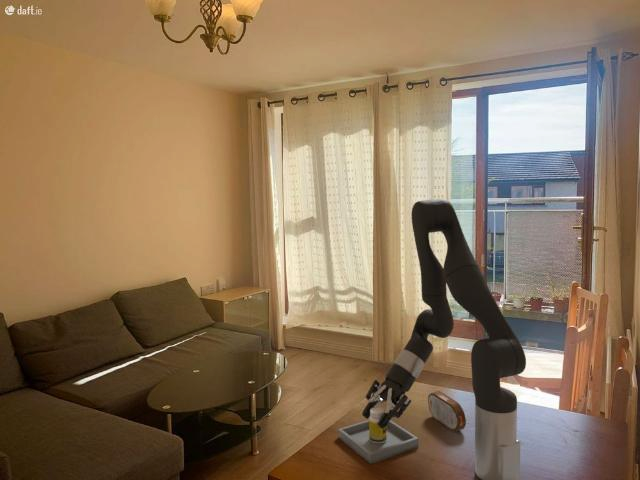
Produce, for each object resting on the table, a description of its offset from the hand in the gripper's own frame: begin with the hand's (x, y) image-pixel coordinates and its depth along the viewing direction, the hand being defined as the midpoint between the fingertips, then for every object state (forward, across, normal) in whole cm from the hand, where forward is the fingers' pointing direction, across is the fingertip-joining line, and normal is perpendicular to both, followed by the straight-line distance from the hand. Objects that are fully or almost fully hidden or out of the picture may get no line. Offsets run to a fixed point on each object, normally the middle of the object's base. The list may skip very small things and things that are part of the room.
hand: (372, 421), depth 128 cm
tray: (+3, 0, +6) cm, 7 cm away
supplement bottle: (+3, 0, +6) cm, 6 cm away
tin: (-13, +3, +22) cm, 26 cm away
